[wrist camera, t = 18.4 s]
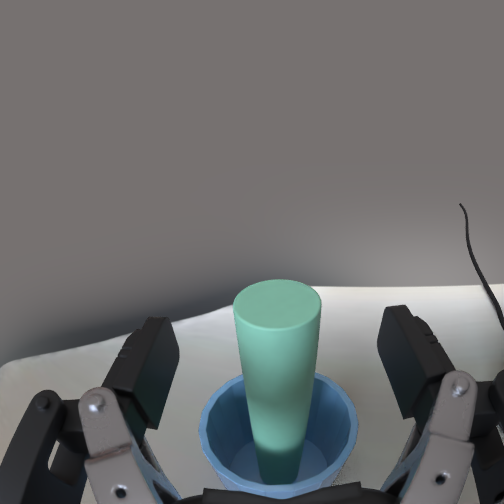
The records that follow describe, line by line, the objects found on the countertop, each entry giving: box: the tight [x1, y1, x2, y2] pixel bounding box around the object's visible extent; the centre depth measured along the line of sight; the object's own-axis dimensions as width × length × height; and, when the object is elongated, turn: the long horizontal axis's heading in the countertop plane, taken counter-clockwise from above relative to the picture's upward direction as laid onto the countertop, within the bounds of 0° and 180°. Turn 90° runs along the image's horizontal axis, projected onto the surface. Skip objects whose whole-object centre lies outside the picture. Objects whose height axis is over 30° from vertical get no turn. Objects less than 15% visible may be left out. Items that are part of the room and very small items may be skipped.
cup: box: [199, 372, 359, 499], centre depth 14 cm, size 8×8×9 cm
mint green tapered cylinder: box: [233, 280, 322, 485], centre depth 12 cm, size 3×3×16 cm
